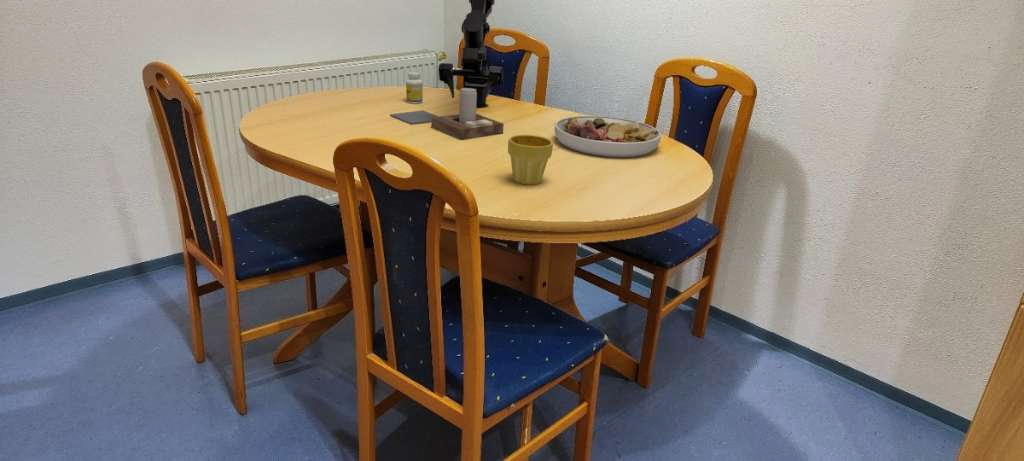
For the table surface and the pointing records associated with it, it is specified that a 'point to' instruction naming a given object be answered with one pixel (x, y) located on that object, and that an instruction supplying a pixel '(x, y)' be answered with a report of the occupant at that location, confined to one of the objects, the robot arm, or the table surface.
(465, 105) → the beverage can
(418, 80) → the supplement bottle
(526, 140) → the plant pot
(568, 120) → the bowl
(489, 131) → the puzzle board
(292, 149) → the table surface
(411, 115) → the rubber mat
